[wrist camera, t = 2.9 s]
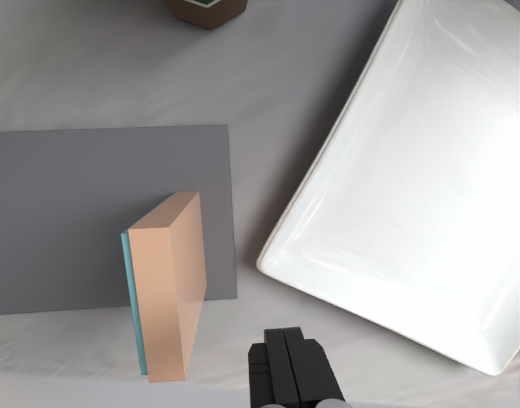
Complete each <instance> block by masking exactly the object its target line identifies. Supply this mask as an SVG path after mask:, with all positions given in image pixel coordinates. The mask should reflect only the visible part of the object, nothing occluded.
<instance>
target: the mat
mask: <svg viewBox="0 0 520 408" xmlns="http://www.w3.org/2000/svg"><path fill="white" fill-rule="evenodd" d="M190 191H199V195H200V207H201V220H202V232H203V244H204V257H205V269H206V282H207V287H206V292H205V296H204V301H208V300H222V299H237V284H236V266H235V249H234V232H233V214H232V197H231V179H230V162H229V144H228V127H227V125H201V126H171V127H140V128H110V129H79V130H49V131H18V132H0V315H2V314H16V313H31V312H46V311H60V310H75V309H90V308H105V307H119V306H131V301H130V294H129V287H128V280H127V273H126V266H125V259H124V252H123V245H122V238H121V234H122V233H123V232H124V231H125V230H127V229H128V228H129V227H131V226H132V225H133V224H135V223H136V222H137V221H138V220H140V219H141V218H142V217H144V216H145V215H146V214H147V213H149V212H150V211H151V210H153V209H154V208H155V207H157V206H158V205H159V204H160V203H162V202H163V201H164V200H166V199H167V198H168V197H169V196H172V195H173V194H174V193H175V192H190Z"/></svg>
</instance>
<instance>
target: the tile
mask: <svg viewBox="0 0 520 408" xmlns="http://www.w3.org/2000/svg"><path fill="white" fill-rule="evenodd" d="M121 238H122V245H123V252H124V259H125V266H126V273H127V280H128V287H129V294H130V301H131V308H132V314H133V321H134V328H135V335H136V342H137V349H138V356H139V363H140V370H141V375H148V378H149V383H157V382H169V381H181V380H185V379H186V375H187V370H188V366H189V361H190V357H191V353H192V348H193V344H194V340H195V335H196V331H197V327H198V322H199V318H200V314H201V309H202V305H203V301H204V296H205V292H206V287H207V282H206V269H205V257H204V244H203V232H202V220H201V207H200V195H199V191H190V192H175V193H174V194H173V195H172V196H169V197H168V198H167V199H166V200H164V201H163V202H162V203H160V204H159V205H158V206H157V207H155V208H154V209H153V210H151V211H150V212H149V213H147V214H146V215H145V216H144V217H142V218H141V219H140V220H138V221H137V222H136V223H135V224H133V225H132V226H131V227H129V228H128V229H127V230H125V231H124V232H123V233H122V234H121Z"/></svg>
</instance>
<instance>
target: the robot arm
mask: <svg viewBox="0 0 520 408" xmlns="http://www.w3.org/2000/svg"><path fill="white" fill-rule="evenodd" d="M504 1H505V2H507V3H508V4H509V5H511V6H512V7H514V8H515V9H516V10H518V11H519V12H520V0H504ZM248 363H249V386H250V405H251V408H353V407H351V406H350V405H349V404H348V403H346V401H345V399H344V397H343V395H342V392H341V390H340V388H339V385H338V383H337V380H336V378H335V376H334V373H333V371H332V369H331V367H330V364H329V361H328V359H327V357H326V354H325V352H324V350H323V347H322V346H321V345H320V344H319V343H318V342H317V341H316V340H315V339H305V340H304V337H303V334H302V331H301V328H300V327H290V328H282V329H281V328H278V329H265V330H264V343H256V344H252V346H251V348H250V350H249V352H248Z"/></svg>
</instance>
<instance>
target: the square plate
mask: <svg viewBox="0 0 520 408" xmlns="http://www.w3.org/2000/svg"><path fill="white" fill-rule="evenodd" d="M256 268H257V269H258V270H259V271H260V272H262V273H263V274H265V275H267V276H269V277H271V278H273V279H275V280H277V281H280V282H282V283H284V284H286V285H289V286H291V287H293V288H295V289H298V290H300V291H303V292H305V293H307V294H309V295H312V296H314V297H316V298H319V299H321V300H323V301H326V302H328V303H330V304H333V305H335V306H337V307H340V308H342V309H345V310H347V311H349V312H351V313H354V314H356V315H358V316H360V317H363V318H365V319H367V320H369V321H371V322H374V323H376V324H378V325H380V326H382V327H385V328H387V329H389V330H391V331H394V332H396V333H398V334H400V335H402V336H404V337H406V338H408V339H411V340H413V341H415V342H417V343H419V344H421V345H423V346H425V347H427V348H430V349H432V350H434V351H436V352H438V353H440V354H442V355H444V356H446V357H448V358H450V359H452V360H455V361H457V362H459V363H461V364H463V365H465V366H467V367H470V368H472V369H474V370H476V371H479V372H481V373H483V374H486V375H489V376H497V375H499V374H500V373H501V372H502V371H503V370H504V369H505V367H506V366H507V365H508V363H509V362H510V361H511V360H512V358H513V357H514V356H515V354H516V353H517V352H518V351H519V349H520V12H519V11H518V10H516V9H515V8H514V7H512V6H511V5H509V4H508V3H507V2H505V1H504V0H398V1H397V3H396V5H395V7H394V9H393V11H392V13H391V15H390V17H389V19H388V21H387V23H386V25H385V27H384V29H383V31H382V33H381V35H380V37H379V39H378V41H377V43H376V45H375V47H374V49H373V51H372V53H371V55H370V57H369V59H368V61H367V63H366V65H365V66H364V68H363V70H362V72H361V74H360V76H359V78H358V80H357V82H356V84H355V86H354V88H353V90H352V92H351V94H350V96H349V97H348V99H347V101H346V103H345V105H344V107H343V109H342V111H341V112H340V114H339V116H338V118H337V120H336V122H335V123H334V125H333V127H332V129H331V131H330V132H329V134H328V136H327V138H326V140H325V141H324V143H323V145H322V147H321V148H320V150H319V152H318V154H317V155H316V157H315V159H314V161H313V163H312V164H311V166H310V168H309V169H308V171H307V173H306V175H305V176H304V178H303V180H302V181H301V183H300V185H299V186H298V188H297V190H296V191H295V193H294V195H293V196H292V198H291V200H290V201H289V203H288V205H287V206H286V208H285V210H284V211H283V213H282V215H281V216H280V218H279V220H278V221H277V223H276V225H275V227H274V228H273V230H272V232H271V233H270V235H269V237H268V239H267V240H266V242H265V244H264V246H263V248H262V250H261V252H260V254H259V256H258V258H257V261H256Z"/></svg>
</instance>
